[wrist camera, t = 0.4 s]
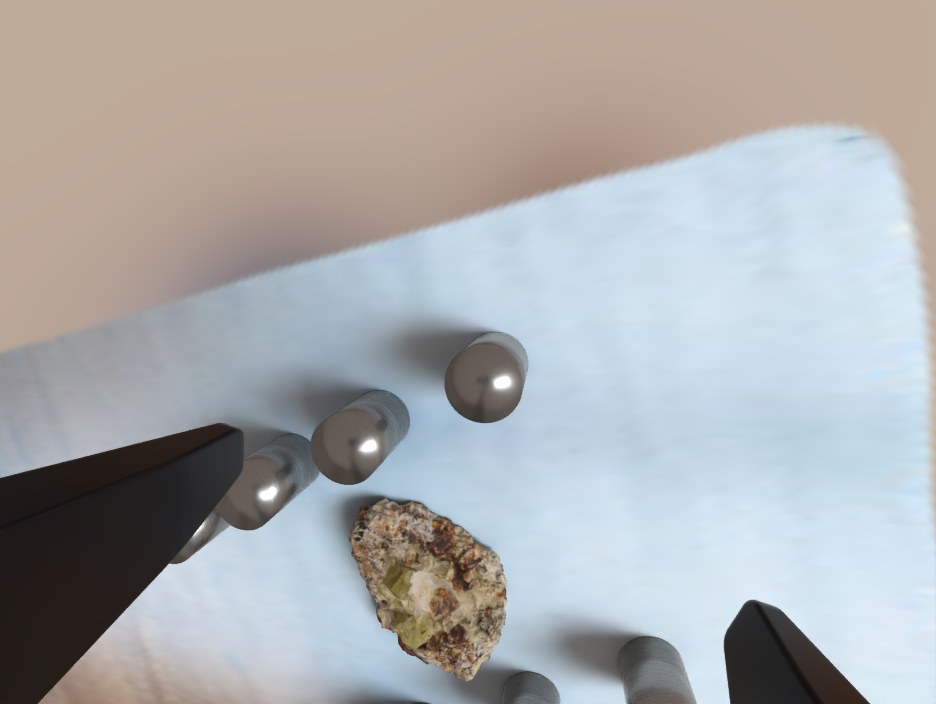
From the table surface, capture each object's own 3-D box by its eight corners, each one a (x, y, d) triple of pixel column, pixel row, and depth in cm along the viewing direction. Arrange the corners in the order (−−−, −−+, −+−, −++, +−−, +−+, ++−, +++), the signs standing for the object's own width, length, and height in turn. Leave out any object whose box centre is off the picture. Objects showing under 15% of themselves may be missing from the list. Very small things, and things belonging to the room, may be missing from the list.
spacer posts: (363, 767, 29) (329, 856, 24) (196, 478, 27) (128, 518, 23) (693, 681, 24) (725, 773, 19) (510, 321, 22) (499, 332, 18)
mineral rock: (553, 634, 22) (427, 741, 22) (538, 591, 27) (433, 679, 26) (417, 465, 23) (291, 568, 22) (425, 449, 27) (319, 535, 27)
